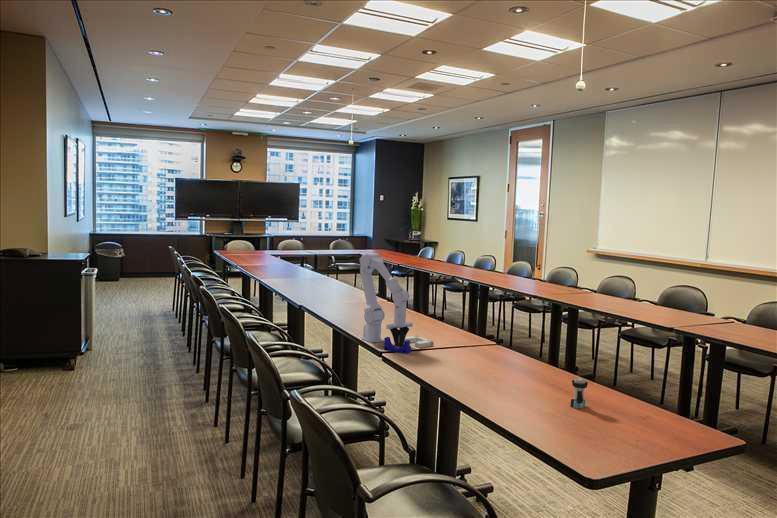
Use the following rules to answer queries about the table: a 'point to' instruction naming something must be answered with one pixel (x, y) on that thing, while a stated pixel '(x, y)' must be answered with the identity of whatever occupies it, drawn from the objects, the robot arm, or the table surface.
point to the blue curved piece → (391, 347)
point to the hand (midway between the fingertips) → (399, 342)
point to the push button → (579, 393)
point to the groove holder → (419, 341)
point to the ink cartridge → (400, 339)
